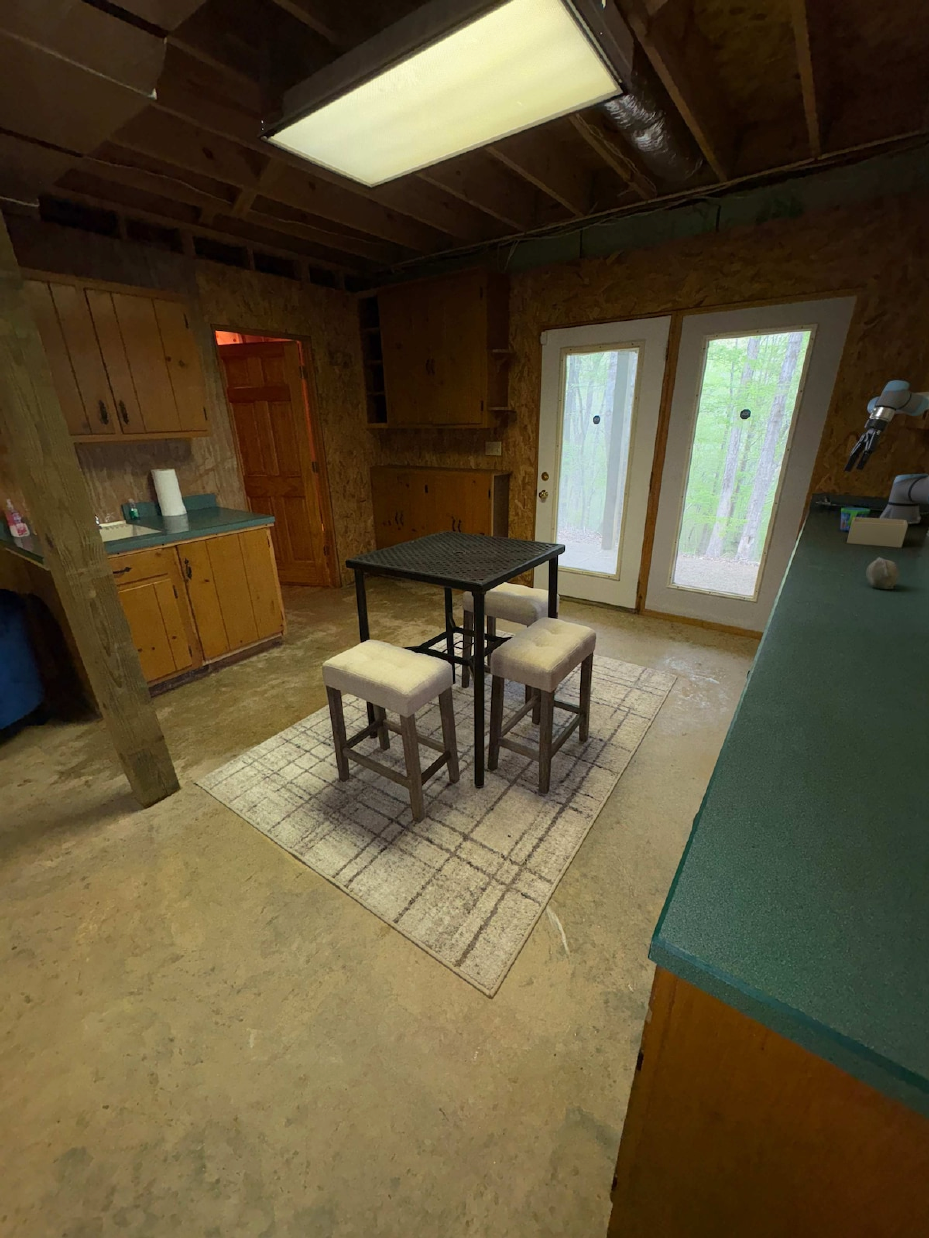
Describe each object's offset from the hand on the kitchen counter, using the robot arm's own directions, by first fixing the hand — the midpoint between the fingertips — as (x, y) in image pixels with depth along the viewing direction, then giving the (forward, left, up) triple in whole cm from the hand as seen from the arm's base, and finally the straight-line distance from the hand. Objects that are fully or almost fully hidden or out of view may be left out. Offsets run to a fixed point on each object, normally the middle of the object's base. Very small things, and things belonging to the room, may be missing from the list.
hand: (852, 470), depth 213 cm
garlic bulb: (+87, +15, -28) cm, 93 cm away
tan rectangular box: (+16, +13, -28) cm, 35 cm away
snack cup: (-7, +5, -28) cm, 29 cm away
